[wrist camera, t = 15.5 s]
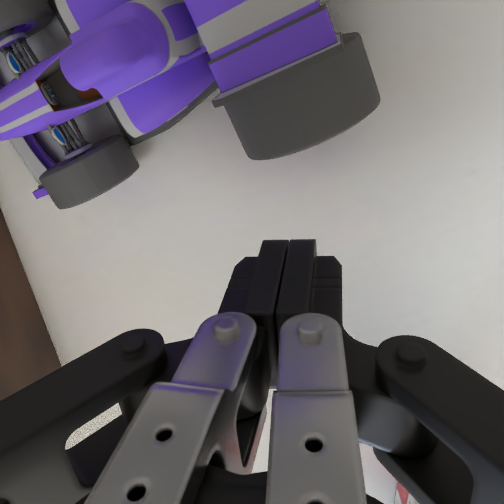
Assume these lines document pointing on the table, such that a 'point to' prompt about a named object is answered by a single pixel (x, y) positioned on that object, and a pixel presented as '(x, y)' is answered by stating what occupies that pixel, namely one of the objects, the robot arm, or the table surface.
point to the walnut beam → (20, 325)
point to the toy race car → (176, 80)
